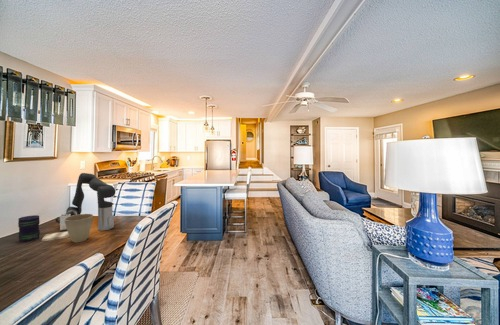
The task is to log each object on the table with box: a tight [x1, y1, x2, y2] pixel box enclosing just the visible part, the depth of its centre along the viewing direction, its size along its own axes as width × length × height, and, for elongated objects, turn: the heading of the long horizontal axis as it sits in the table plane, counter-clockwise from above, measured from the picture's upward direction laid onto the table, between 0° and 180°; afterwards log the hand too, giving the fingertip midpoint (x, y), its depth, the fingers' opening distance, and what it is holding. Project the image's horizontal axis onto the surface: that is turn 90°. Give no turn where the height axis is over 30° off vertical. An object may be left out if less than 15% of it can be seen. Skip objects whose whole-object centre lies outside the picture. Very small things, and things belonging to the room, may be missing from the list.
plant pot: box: [64, 213, 94, 243], centre depth 140 cm, size 15×15×16 cm
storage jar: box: [17, 214, 41, 243], centre depth 140 cm, size 10×10×15 cm
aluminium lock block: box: [59, 213, 70, 232], centre depth 156 cm, size 5×6×12 cm
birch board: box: [41, 231, 70, 242], centre depth 146 cm, size 16×10×2 cm, turn 122°
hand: (66, 221), depth 159 cm, fingers open, 8 cm apart
